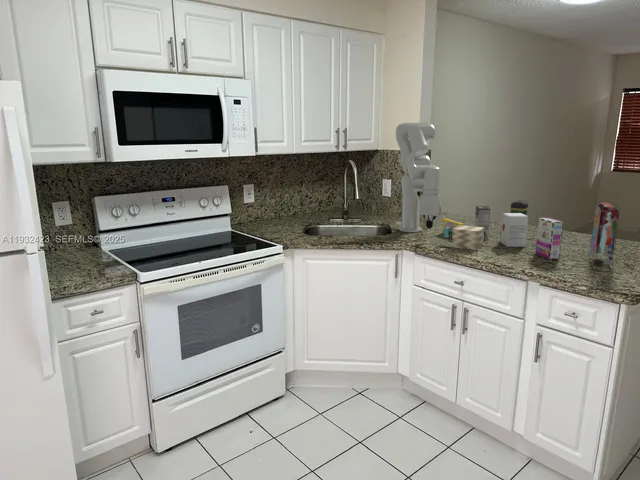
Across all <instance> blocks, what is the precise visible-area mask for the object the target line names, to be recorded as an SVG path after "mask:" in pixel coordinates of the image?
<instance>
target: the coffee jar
mask: <svg viewBox="0 0 640 480" xmlns="http://www.w3.org/2000/svg"><path fill="white" fill-rule="evenodd" d="M528 211H529V203H528V202H527V200H521V199H519V200H516V201H513V202H511V203H510V211H509V213H522V214H524V215H526V216H528Z"/></svg>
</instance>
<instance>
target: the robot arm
mask: <svg viewBox="0 0 640 480" xmlns="http://www.w3.org/2000/svg"><path fill="white" fill-rule="evenodd" d="M436 136H437V130H436V128H435V126H434V125H433V124H431V123H428V122H403V123H400V124H398V125H397V126H396V128H395V139H396V142H397V145H398V148H399V150H400V151H399V152H400V158H401V159H400V160H401V166H402V170H403V171H404V173H406V174H404V175H403V176H402V178H401V181H400V182H401V191H402V192H401V193H402V216H401V217H402V219H401V221H396V222H395V225H396V226H397V227H399V229H398V230H399V231H400V232H404V233H419V232H421V231H422V230H423V229H422V227H421V226H420V217H423V218H424V220H425V226H426V229H429V230H430V229H432V227H433V226H434V221H435V219H439V218H441V217H442V215H441V214H442V201H441V194H440V182H441V169H440V167H438V166H436V165H434V164H432V161H431V159H430V157H429V156H428V155H426V154H427V153H428V152H429V148H430V146H429V142H428V141H433V140H435V138H436ZM407 173H408V174H407ZM417 192H421V195H420V197H419V195H418V194H417Z"/></svg>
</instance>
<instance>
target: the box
mask: <svg viewBox="0 0 640 480" xmlns="http://www.w3.org/2000/svg"><path fill="white" fill-rule="evenodd" d="M598 203H599V205H598ZM598 203H596V204H595V207H594V217H593V225H592V231H591V232H592V233H591V241H590V248H589V249H590V250H589V254H590V258H591V262H592V265H593V267H596V266H600V267H601V265H599V264H598V262H597V260H599V261H601V262H602V261H603V260H604V264H607V265H609V266H608V267H607V266H606V267H605V266H604V265H602V268H604V270H605V269H611V270H612V269H613V266H614V263H613V260H614V258H615V256H614V253H615V251H616V248H615V246H616V244H617V243H616V241H617V238H616V237H617V235H618V233H617V232H618V226H619V225H618V221H619V216H620V208H619V207H617V205H615V204H614V203H612V202H603V201H600V202H598ZM610 208H611V209H610ZM617 208H618V209H617ZM614 218H615V220H614ZM613 231H614V232H613ZM614 234H615V235H614ZM604 250H605V251H606V253H605V254H604ZM596 254H598V257H596ZM603 255H604V256H605V257H606V259H603ZM593 260H594V261H593ZM594 262H595V263H594ZM595 264H596V265H595ZM610 265H611V266H612V267H610ZM609 267H610V268H609Z"/></svg>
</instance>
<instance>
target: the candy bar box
mask: <svg viewBox="0 0 640 480" xmlns="http://www.w3.org/2000/svg"><path fill="white" fill-rule="evenodd" d="M563 227H564V221H561V220H557V219H554V218H551V217H539V218H538V225H537V235H536V245H535V254H536V255H538V256H540V257H543V258H545V259H547V260H560V257H561V249H562V248H561V247H562V239H563V231H564V228H563Z"/></svg>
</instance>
